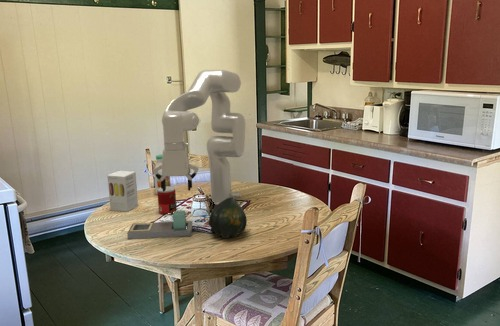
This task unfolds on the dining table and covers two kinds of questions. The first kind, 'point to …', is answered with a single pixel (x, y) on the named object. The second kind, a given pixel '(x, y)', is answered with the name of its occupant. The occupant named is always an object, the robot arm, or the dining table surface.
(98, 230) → the dining table surface
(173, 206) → the canned food
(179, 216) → the peg
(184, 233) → the grey peg hole board
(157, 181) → the milk bottle
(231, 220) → the squash
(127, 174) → the supplement box
